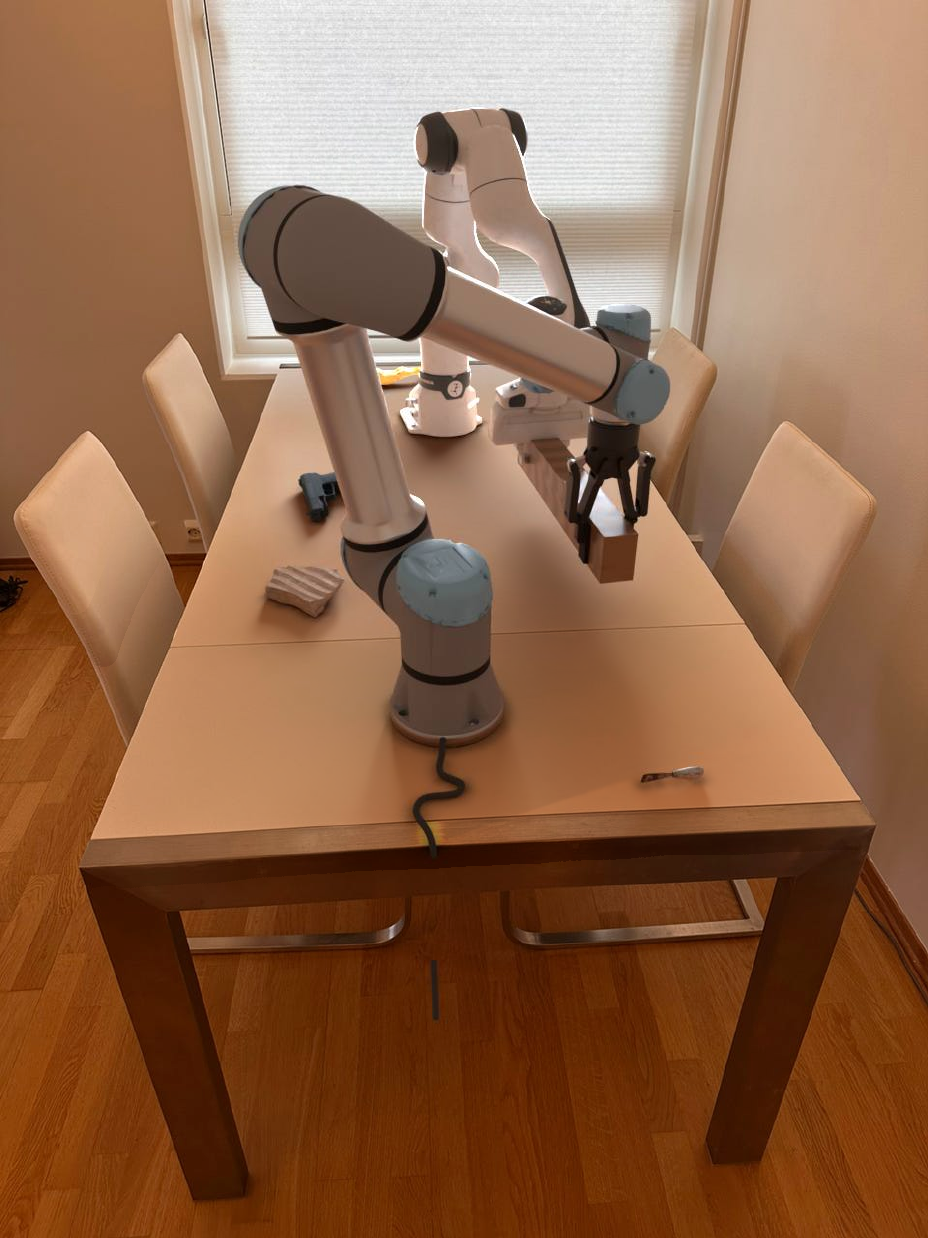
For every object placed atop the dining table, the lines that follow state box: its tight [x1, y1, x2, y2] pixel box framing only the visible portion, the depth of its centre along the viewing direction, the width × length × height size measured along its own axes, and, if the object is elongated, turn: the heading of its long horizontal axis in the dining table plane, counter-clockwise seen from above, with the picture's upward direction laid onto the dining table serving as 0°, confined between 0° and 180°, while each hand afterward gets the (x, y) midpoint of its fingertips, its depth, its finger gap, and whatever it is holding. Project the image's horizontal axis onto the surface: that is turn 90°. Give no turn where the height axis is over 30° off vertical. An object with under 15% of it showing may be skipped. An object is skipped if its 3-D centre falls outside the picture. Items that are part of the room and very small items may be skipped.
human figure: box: [377, 366, 421, 386], centre depth 243 cm, size 20×20×4 cm
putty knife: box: [640, 765, 705, 784], centre depth 109 cm, size 1×8×2 cm, turn 103°
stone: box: [264, 565, 345, 618], centre depth 147 cm, size 13×12×3 cm
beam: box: [517, 438, 639, 585], centre depth 155 cm, size 50×5×8 cm, turn 12°
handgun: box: [298, 471, 341, 522], centre depth 178 cm, size 3×18×12 cm
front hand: (601, 557), depth 142 cm, fingers closed on beam, 5 cm apart
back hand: (540, 462), depth 171 cm, fingers closed on beam, 5 cm apart
